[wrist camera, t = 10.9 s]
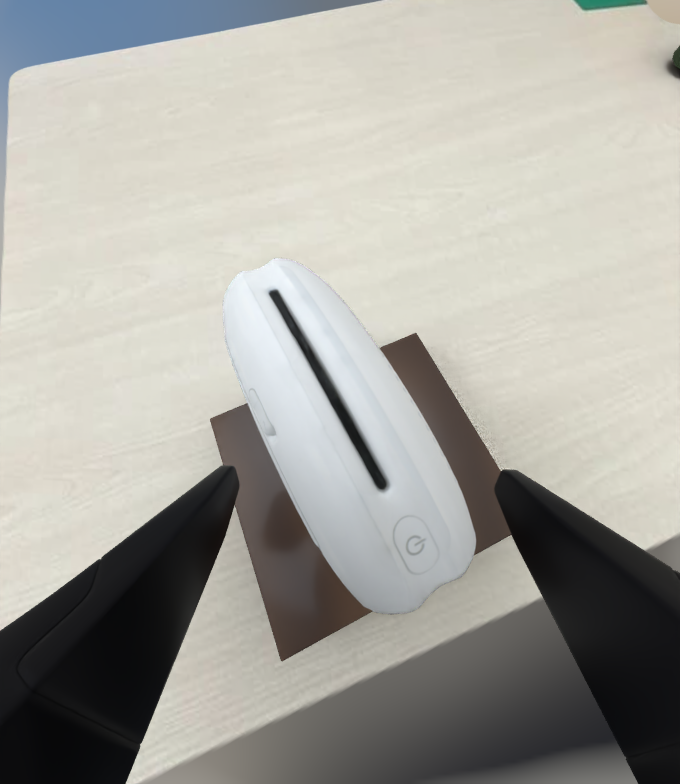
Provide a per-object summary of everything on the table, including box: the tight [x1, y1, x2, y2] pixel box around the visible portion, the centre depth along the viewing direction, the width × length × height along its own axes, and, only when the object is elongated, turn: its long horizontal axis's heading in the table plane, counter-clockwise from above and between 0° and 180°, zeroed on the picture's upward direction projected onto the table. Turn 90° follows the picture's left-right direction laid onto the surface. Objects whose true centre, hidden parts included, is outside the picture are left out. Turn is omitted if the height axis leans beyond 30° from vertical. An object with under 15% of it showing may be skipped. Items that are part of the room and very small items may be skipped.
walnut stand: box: [210, 333, 511, 661], centre depth 18 cm, size 17×15×2 cm
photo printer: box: [223, 258, 476, 614], centre depth 11 cm, size 10×4×12 cm, turn 29°
